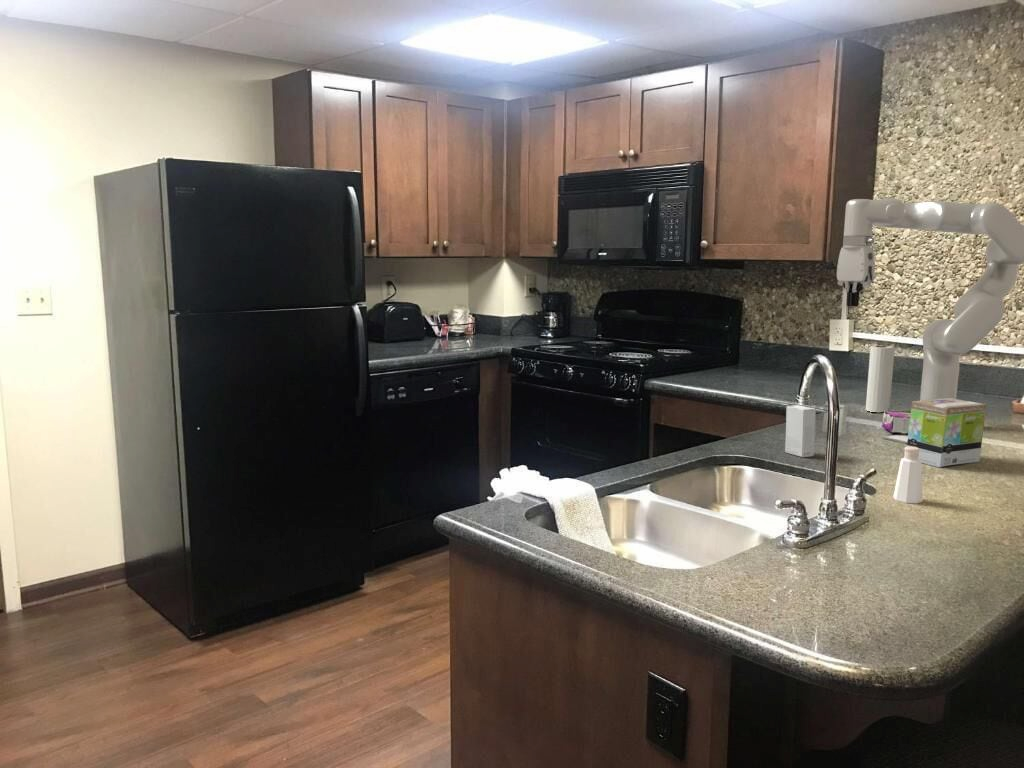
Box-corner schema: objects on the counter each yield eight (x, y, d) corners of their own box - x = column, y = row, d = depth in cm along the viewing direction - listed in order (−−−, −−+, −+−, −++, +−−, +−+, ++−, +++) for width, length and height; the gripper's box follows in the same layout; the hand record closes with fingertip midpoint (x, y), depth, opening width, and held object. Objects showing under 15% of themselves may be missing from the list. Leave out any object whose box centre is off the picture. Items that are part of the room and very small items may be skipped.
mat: (911, 434, 231) (912, 432, 231) (966, 445, 218) (966, 443, 218) (881, 438, 225) (882, 436, 225) (936, 450, 211) (936, 448, 211)
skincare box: (814, 456, 204) (818, 408, 202) (801, 458, 202) (804, 409, 200) (796, 451, 209) (799, 404, 208) (783, 452, 208) (786, 405, 206)
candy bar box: (883, 409, 238) (943, 415, 235) (881, 426, 239) (941, 432, 236) (893, 415, 227) (957, 420, 224) (891, 433, 228) (954, 438, 225)
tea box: (941, 468, 193) (947, 407, 191) (904, 459, 202) (909, 400, 200) (981, 462, 200) (987, 402, 198) (943, 453, 209) (949, 396, 207)
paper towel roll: (865, 412, 263) (870, 346, 259) (865, 409, 268) (870, 344, 265) (890, 414, 260) (895, 347, 257) (889, 411, 266) (894, 346, 262)
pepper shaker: (920, 505, 164) (925, 451, 162) (891, 500, 167) (895, 448, 165) (923, 498, 169) (928, 446, 167) (894, 494, 171) (899, 443, 170)
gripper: (888, 242, 233) (882, 307, 236) (844, 243, 246) (839, 304, 249) (870, 242, 230) (865, 307, 232) (827, 242, 242) (822, 304, 245)
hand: (852, 305), depth 241 cm, fingers closed
